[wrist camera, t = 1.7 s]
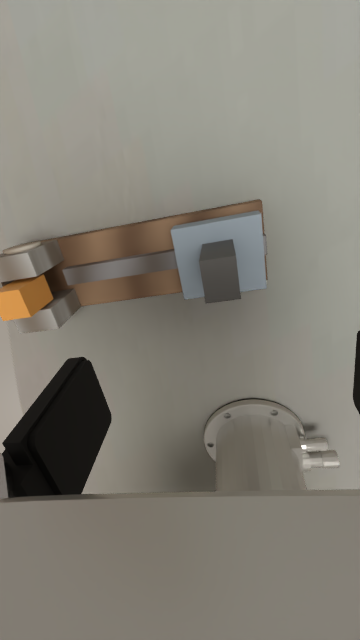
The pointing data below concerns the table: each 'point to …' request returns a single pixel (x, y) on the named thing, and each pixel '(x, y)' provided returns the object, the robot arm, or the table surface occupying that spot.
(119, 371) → the table surface
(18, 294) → the button
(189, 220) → the rail board
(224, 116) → the table surface
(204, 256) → the carriage
